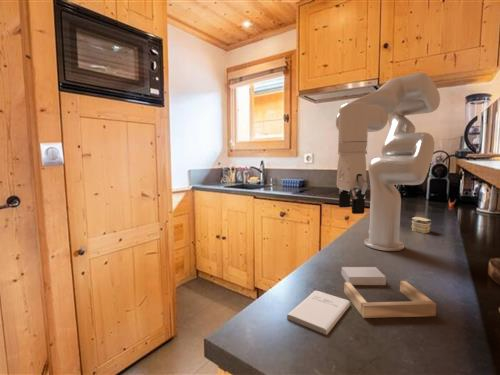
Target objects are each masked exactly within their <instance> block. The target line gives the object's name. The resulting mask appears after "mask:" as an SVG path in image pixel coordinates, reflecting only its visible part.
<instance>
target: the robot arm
mask: <svg viewBox="0 0 500 375" xmlns="http://www.w3.org/2000/svg"><path fill="white" fill-rule="evenodd" d="M440 103H441V95H440V92H439V90H438V88H437V86H436V84H435V82H434V81H433V79H432V78H431V76H430V75H428V74H427V73H424V72H417V73H411V74H406V75H401V76H398V77H394V78H393V77H392V78H391V79H389V80H387V81H386V82H385V83H384V84H383V85H381V87H379V88H378V89H377V90H375V91H373V92H370V93H368V94H366V95H364V96H362V97H359V98H357V99H355V100H353V101H351V102H347V103H344V104H342V105H341V106H340V107H339V109H338V110H339V111H338V113H337V116H336V119H335V126H336V128H337V130H338V145H337V147H338V148H337V150H338V151H337V155H338V160H337V169H336V187H337V188H338V189H339V190H338V207H339V208H350V207H351V213H352V214H353V215H364V214H365V207H366V206H365V205H366V194H367V193H368V192H367V190H368V186H369V185H370V204H369V206H370V207H369V229H368V231H367V233H368V237H367V238H365V239H364V242H363V243H364V245H365V246H367V247H368V248H371V249H374V250H378V251H379V250H380V251H384V252H397V251H402V250H403V249H405V244H404V242H401V241H400V229H401V228H400V227H401V206H402V198H401V197H402V196H401V193H400V191H399V190H398V188H397V187H396V186H395V185H402V186H403V185H404V186H405V185H406V186H417V185H418V186H419V185H421V184H423V183H424V181H425V180H426V178H427V176H428V173H429V169H430V166H431V162H432V159H433V157H434V152H435V138H434V137H433V136H432V134H430V133H428V132H423V131H422V132H420V131H419V132H416V127H415V125H414V123H413V122H412V121H411V120H410V119H409V118H407V117H406V116H413V115H422V114H430V113H433V112H434V111H436V110H438V108H439V106H440ZM387 124H389V125H388V126H389V129H388V132H387V134H386V137H385V139H384V141H383V143H382V146H381V154H382V155H381V156H376V157H374V158H371V160H370V162H369V163H368V176H369V182H370V183H369V185H368V182H367V156H366V155H368V136H369V135H368V133H373V132H378V131H381V130H383V129H384V128H385V127H386V126H387ZM350 191H351V193H352V197H353V198H351V193H350Z"/></svg>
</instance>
